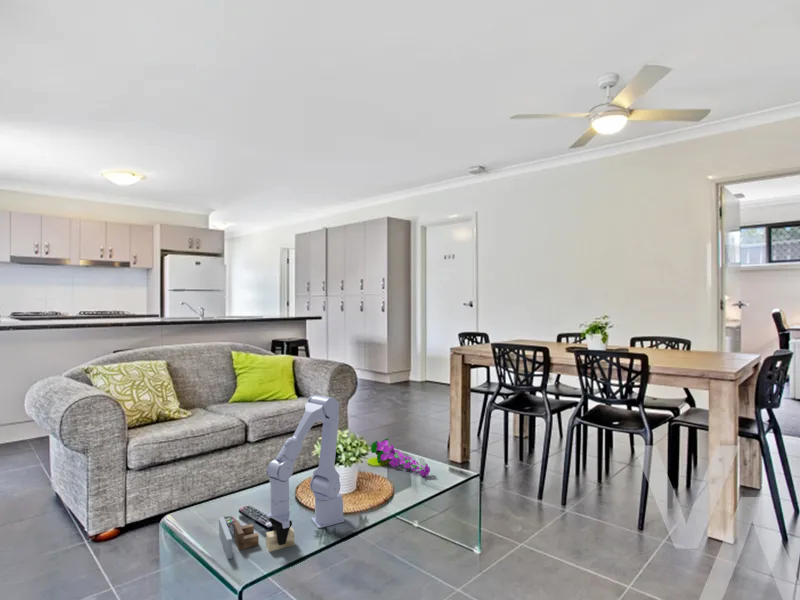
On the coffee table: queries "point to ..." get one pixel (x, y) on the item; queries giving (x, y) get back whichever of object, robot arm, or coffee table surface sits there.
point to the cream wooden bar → (273, 542)
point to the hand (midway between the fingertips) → (280, 541)
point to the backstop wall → (225, 538)
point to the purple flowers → (385, 452)
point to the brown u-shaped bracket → (245, 536)
